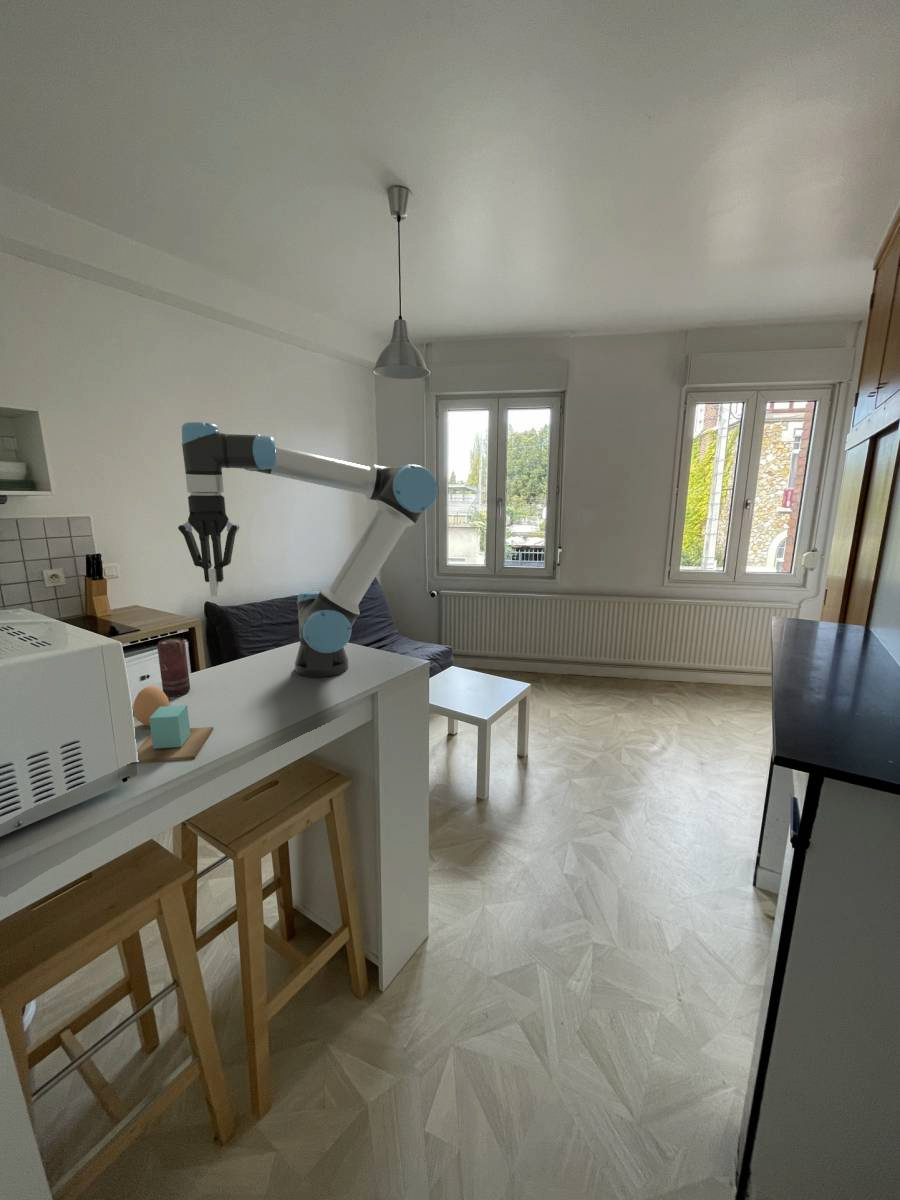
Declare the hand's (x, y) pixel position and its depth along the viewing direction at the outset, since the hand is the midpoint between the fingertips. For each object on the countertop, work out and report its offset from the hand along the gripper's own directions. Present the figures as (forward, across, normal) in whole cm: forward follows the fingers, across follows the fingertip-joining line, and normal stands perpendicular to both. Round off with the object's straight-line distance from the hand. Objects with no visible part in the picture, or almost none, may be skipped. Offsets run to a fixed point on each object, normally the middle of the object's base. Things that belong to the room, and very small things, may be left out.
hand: (215, 595), depth 117 cm
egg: (+27, +12, +13) cm, 32 cm away
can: (+27, +13, -5) cm, 30 cm away
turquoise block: (+25, +4, +23) cm, 35 cm away
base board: (+26, +4, +23) cm, 35 cm away
